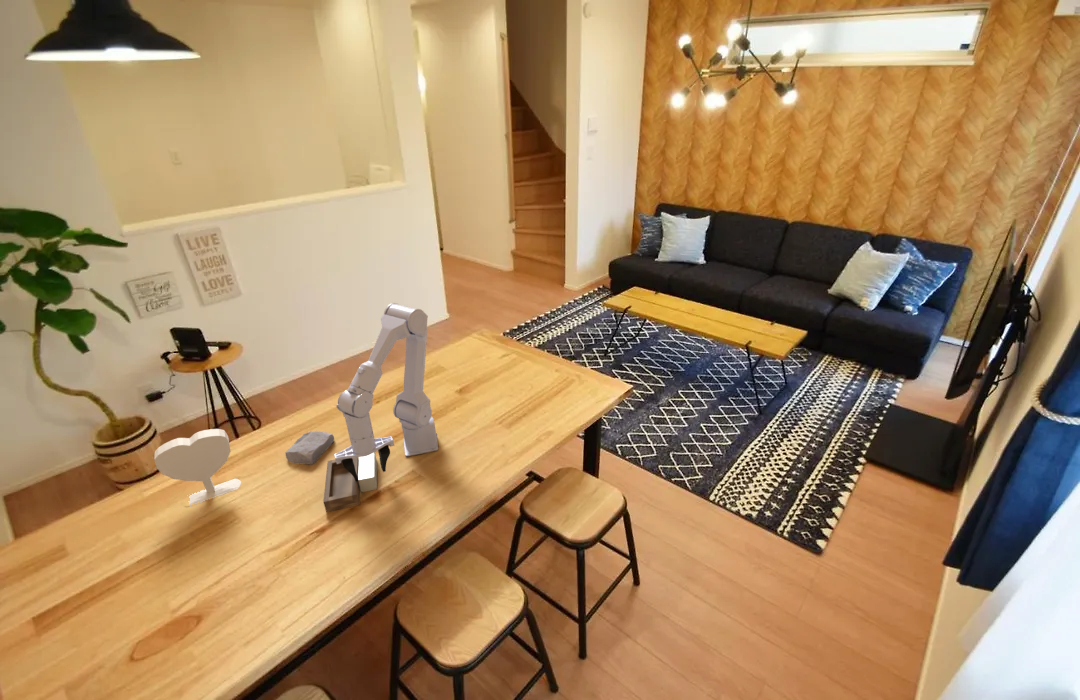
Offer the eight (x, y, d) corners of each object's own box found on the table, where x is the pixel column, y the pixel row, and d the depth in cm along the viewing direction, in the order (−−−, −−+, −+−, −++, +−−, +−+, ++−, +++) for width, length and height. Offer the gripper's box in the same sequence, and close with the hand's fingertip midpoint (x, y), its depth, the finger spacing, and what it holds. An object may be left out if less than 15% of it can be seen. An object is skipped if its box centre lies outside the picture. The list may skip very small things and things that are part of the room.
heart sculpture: (244, 475, 135) (223, 422, 127) (246, 485, 131) (224, 432, 123) (177, 499, 127) (150, 444, 119) (177, 511, 124) (149, 456, 115)
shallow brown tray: (360, 464, 138) (357, 454, 137) (359, 504, 125) (356, 494, 123) (330, 470, 136) (327, 460, 134) (326, 512, 123) (323, 502, 121)
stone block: (285, 467, 141) (314, 466, 138) (279, 453, 139) (308, 452, 136) (311, 442, 151) (338, 441, 148) (305, 429, 149) (332, 428, 146)
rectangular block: (376, 460, 140) (374, 448, 138) (377, 489, 130) (374, 476, 128) (362, 463, 139) (359, 451, 137) (361, 492, 129) (358, 480, 127)
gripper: (385, 416, 130) (393, 456, 136) (328, 433, 123) (338, 474, 130) (392, 430, 124) (400, 471, 131) (333, 449, 118) (344, 491, 124)
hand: (370, 474), depth 130 cm, fingers open, 6 cm apart
